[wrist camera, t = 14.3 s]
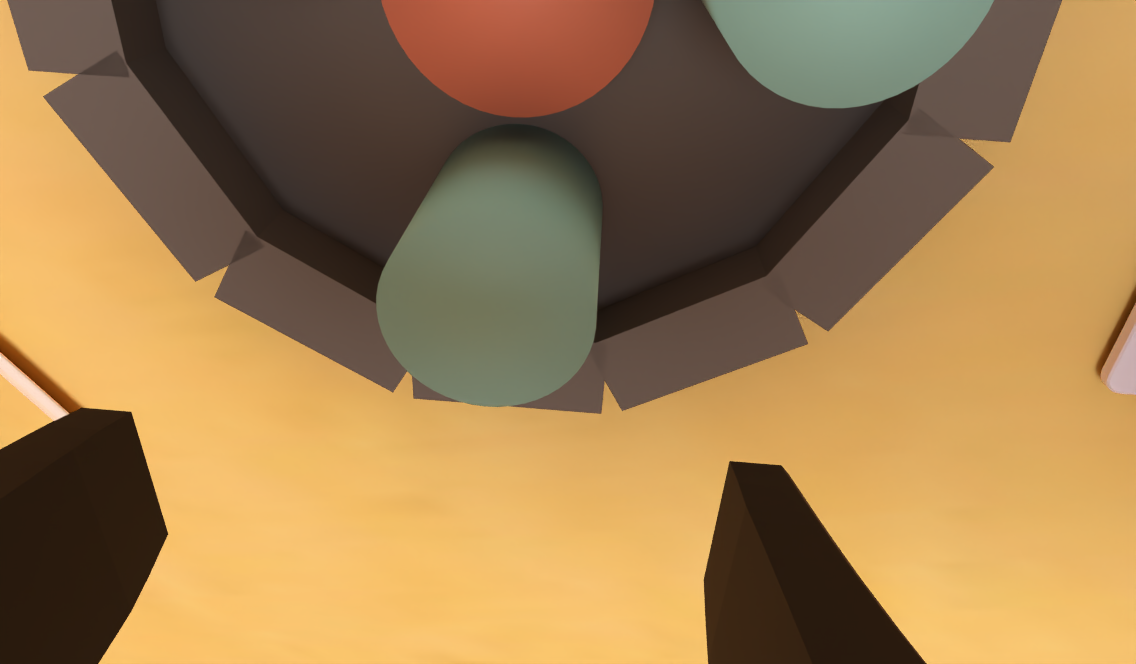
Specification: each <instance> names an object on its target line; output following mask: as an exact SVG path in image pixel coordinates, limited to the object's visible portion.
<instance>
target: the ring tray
mask: <svg viewBox="0 0 1136 664" xmlns="http://www.w3.org/2000/svg"><path fill="white" fill-rule="evenodd" d="M7 1H8V4H9V7H10V10H11V14H12V17H13V20H14V24H15V27H16V30H17V34H18V37H19V40H20V44H21V47H22V50H23V54H24V57H25V60H26V63H27V67H28V70H30V71H43V72H57V73H71V74H78V75H76V76H75V77H73V78H72V79H70V80H68V81H67V82H65V83H64V84H62V85H61V86H59V87H57V88H56V89H54V90H53V91H51V92H49V93H48V94H46V95H45V96H43V97H44V98H45V100H46V101H47V102H48V103H49V105H50V106H51V107H52V108H53V109H54V111H55V112H56V113H57V114H58V115H59V117H60V118H61V119H62V120H63V122H64V123H65V124H66V125H67V126H68V128H69V129H70V130H71V131H72V132H73V134H74V135H75V136H76V137H77V138H78V140H79V141H80V142H81V143H82V145H83V146H84V147H85V148H86V149H87V151H88V152H89V153H90V154H91V155H92V157H93V158H94V159H95V160H96V162H97V163H98V164H99V165H100V166H101V168H102V169H103V170H104V171H105V172H106V174H107V175H108V176H109V177H110V179H111V180H112V181H113V182H114V183H115V185H116V186H117V187H118V188H119V189H120V191H121V192H122V193H123V194H124V196H125V197H126V198H127V199H128V200H129V202H130V203H131V204H132V205H133V206H134V208H135V209H136V210H137V211H138V213H139V214H140V215H141V216H142V217H143V219H144V220H145V221H146V222H147V223H148V225H149V226H150V227H151V228H152V230H153V231H154V232H155V233H156V234H157V236H158V237H159V238H160V239H161V240H162V242H163V243H164V244H165V245H166V247H167V248H168V249H169V250H170V251H171V253H172V254H173V255H174V256H175V257H176V259H177V260H178V261H179V262H180V263H181V265H182V266H183V267H184V268H185V270H186V271H187V272H188V273H189V274H190V276H191V277H192V278H193V279H194V280H195V282H196V281H198V280H200V279H202V278H204V277H206V276H208V275H210V274H212V273H214V272H216V271H218V270H220V269H222V268H224V267H226V266H228V265H229V266H228V269H227V271H226V273H225V275H224V277H223V279H222V281H221V284H220V286H219V288H218V290H217V292H216V294H215V298H217V299H219V300H221V301H223V302H225V303H227V304H228V305H230V306H232V307H234V308H236V309H238V310H240V311H242V312H243V313H245V314H247V315H249V316H251V317H253V318H255V319H257V320H258V321H260V322H262V323H264V324H266V325H268V326H270V327H271V328H273V329H275V330H277V331H279V332H281V333H283V334H285V335H286V336H288V337H290V338H292V339H294V340H296V341H298V342H300V343H301V344H303V345H305V346H307V347H309V348H311V349H313V350H315V351H316V352H318V353H320V354H322V355H324V356H326V357H328V358H330V359H331V360H333V361H335V362H337V363H339V364H341V365H343V366H345V367H346V368H348V369H350V370H352V371H354V372H356V373H358V374H360V375H361V376H363V377H365V378H367V379H369V380H371V381H373V382H375V383H376V384H378V385H380V386H382V387H384V388H386V389H388V390H390V391H391V392H394V390H395V389H396V387H397V386H398V384H399V383H400V381H401V380H402V378H403V377H404V375H405V374H406V372H407V370H406V369H405V368H404V367H403V366H402V365H401V364H400V363H399V361H398V360H397V359H396V358H395V356H394V355H393V353H392V352H391V350H390V349H389V347H388V345H387V343H386V341H385V339H384V337H383V335H382V332H381V329H380V325H379V322H378V316H377V310H376V295H377V288H378V283H379V280H380V277H381V274H382V271H383V269H384V267H385V265H386V263H387V261H388V259H389V258H390V256H391V254H392V252H393V251H394V249H395V247H396V246H397V244H398V242H399V241H400V239H401V237H402V235H403V234H404V232H405V230H406V229H407V227H408V225H409V224H410V222H411V220H412V218H413V217H414V215H415V213H416V212H417V210H418V208H419V207H420V205H421V203H422V201H423V200H424V198H425V196H426V195H427V193H428V191H429V189H430V188H431V186H432V184H433V183H434V181H435V179H436V178H437V176H438V174H439V172H440V171H441V169H442V167H443V166H444V164H445V162H446V161H447V159H448V158H449V156H450V155H451V153H452V152H453V151H454V150H455V149H456V148H457V147H458V146H459V145H460V144H461V143H462V142H463V141H465V140H466V139H467V138H468V137H470V136H472V135H474V134H475V133H477V132H479V131H482V130H484V129H487V128H490V127H494V126H498V125H505V124H525V125H532V126H536V127H540V128H543V129H546V130H548V131H551V132H553V133H555V134H557V135H559V136H560V137H562V138H564V139H566V140H567V141H568V142H569V143H571V144H572V145H573V146H575V147H576V148H577V149H578V150H579V151H580V152H581V153H582V154H583V156H584V157H585V158H586V160H587V161H588V162H589V164H590V165H591V167H592V169H593V171H594V172H595V175H596V177H597V180H598V182H599V186H600V189H601V193H602V202H603V210H602V230H601V248H600V265H599V283H598V301H597V319H596V331H595V336H594V341H593V344H592V347H591V350H590V352H589V354H588V356H587V358H586V360H585V362H584V363H583V365H582V366H581V368H580V369H579V370H578V372H577V373H576V374H575V375H574V376H573V377H572V378H571V379H570V380H569V381H568V382H567V383H565V384H564V385H563V386H562V387H560V388H559V389H557V390H556V391H554V392H552V393H550V394H549V395H547V396H544V397H542V398H540V399H538V400H535V401H531V402H528V403H525V404H519V405H514V406H513V407H525V408H537V409H550V410H562V411H574V412H586V413H599V414H601V411H602V401H603V391H604V381H605V382H606V383H607V385H608V387H609V389H610V390H611V392H612V394H613V396H614V397H615V399H616V401H617V403H618V404H619V406H620V408H621V410H622V411H623V410H626V409H629V408H632V407H635V406H637V405H640V404H643V403H646V402H648V401H651V400H654V399H657V398H660V397H662V396H665V395H668V394H671V393H673V392H676V391H679V390H682V389H684V388H687V387H690V386H693V385H696V384H698V383H701V382H704V381H707V380H709V379H712V378H715V377H718V376H721V375H723V374H726V373H729V372H732V371H734V370H737V369H740V368H743V367H745V366H748V365H751V364H754V363H757V362H759V361H762V360H765V359H768V358H770V357H773V356H776V355H779V354H782V353H784V352H787V351H790V350H793V349H795V348H798V347H801V346H804V345H806V344H808V342H807V340H806V337H805V335H804V332H803V330H802V327H801V325H800V322H799V319H798V317H797V314H796V312H795V310H796V311H798V312H799V313H801V314H802V315H804V316H805V317H807V318H808V319H810V320H811V321H813V322H815V323H816V324H818V325H819V326H821V327H822V328H824V329H825V330H827V331H829V330H830V329H831V328H832V327H833V326H834V325H835V324H836V323H837V322H838V321H839V320H840V319H841V318H842V317H843V316H844V315H845V314H846V313H847V312H848V311H849V310H850V309H851V308H852V307H853V306H854V305H855V304H856V303H857V302H858V301H859V300H860V299H861V298H862V297H863V296H864V295H865V294H866V293H867V292H868V291H869V290H870V289H871V288H872V287H873V286H874V285H875V284H876V283H877V282H878V281H879V280H880V279H882V278H883V277H884V276H885V275H886V274H887V273H888V272H889V271H890V270H891V269H892V268H893V267H894V266H895V265H896V264H897V263H898V262H899V261H900V260H901V259H902V258H903V257H904V256H905V255H906V254H907V253H908V252H909V251H910V250H911V249H912V248H913V247H914V246H915V245H916V244H917V243H918V242H919V241H920V240H921V239H922V238H923V237H924V236H925V235H926V234H927V233H928V232H929V231H930V230H931V229H932V228H933V227H934V226H935V225H936V224H937V223H938V222H939V221H940V220H941V219H942V218H943V217H944V216H945V215H946V214H947V213H948V212H949V211H950V210H951V209H952V208H953V207H954V206H955V205H956V204H957V203H958V202H959V201H960V200H961V199H962V198H963V197H964V196H965V195H966V194H967V193H968V192H969V191H970V190H971V189H972V188H973V187H974V186H975V185H976V184H977V183H978V182H979V181H980V180H981V179H982V178H983V177H984V176H985V175H986V174H987V173H988V172H989V171H990V170H991V169H992V168H993V167H994V166H992V165H991V164H990V163H989V162H987V161H986V160H985V159H984V158H982V157H981V156H980V155H979V154H978V153H976V152H975V151H974V150H973V149H971V148H970V147H969V146H968V145H966V144H965V143H964V142H963V141H961V140H960V139H973V140H986V141H1000V142H1011V139H1012V136H1013V133H1014V131H1015V128H1016V125H1017V122H1018V120H1019V117H1020V114H1021V111H1022V109H1023V106H1024V103H1025V100H1026V98H1027V95H1028V92H1029V90H1030V87H1031V84H1032V81H1033V79H1034V76H1035V73H1036V70H1037V68H1038V65H1039V62H1040V59H1041V57H1042V54H1043V51H1044V48H1045V46H1046V43H1047V40H1048V37H1049V35H1050V32H1051V29H1052V26H1053V24H1054V21H1055V18H1056V16H1057V13H1058V10H1059V7H1060V5H1061V2H1062V0H994V2H993V3H992V5H991V7H990V9H989V11H988V13H987V15H986V16H985V18H984V19H983V21H982V22H981V24H980V25H979V27H978V28H977V30H976V31H975V32H974V34H973V35H972V36H971V37H970V39H969V40H968V41H967V42H966V43H965V45H964V46H963V47H962V48H961V49H960V50H959V51H958V52H957V53H956V54H955V55H954V56H953V57H952V58H951V59H950V60H949V61H948V62H947V63H946V64H945V65H943V66H942V67H941V68H940V69H938V70H937V71H936V72H935V73H934V74H932V75H931V76H929V77H928V78H926V79H925V80H923V81H922V82H920V83H919V84H917V85H916V86H914V87H912V88H910V89H908V90H906V91H904V92H902V93H900V94H898V95H896V96H893V97H890V98H888V99H885V100H882V101H880V102H876V103H872V104H868V105H864V106H858V107H850V108H821V107H814V106H808V105H804V104H801V103H797V102H794V101H791V100H789V99H787V98H784V97H782V96H780V95H778V94H776V93H774V92H773V91H771V90H769V89H768V88H766V87H765V86H763V85H762V84H761V83H760V82H758V81H757V80H756V79H755V78H754V77H753V76H751V75H750V74H749V72H748V71H747V70H746V69H745V68H744V67H743V66H742V64H741V63H740V62H739V61H738V59H737V58H736V56H735V55H734V53H733V51H732V50H731V48H730V47H729V45H728V43H727V42H726V40H725V38H724V37H723V35H722V34H721V32H720V30H719V29H718V27H717V25H716V24H715V22H714V20H713V19H712V17H711V15H710V14H709V12H708V10H707V9H706V7H705V5H704V4H703V2H702V0H7ZM412 380H413V397H414V399H427V400H439V401H451V402H460V401H457V400H454V399H451V398H448V397H446V396H444V395H442V394H439V393H437V392H435V391H433V390H432V389H430V388H429V387H427V386H425V385H424V384H422V383H421V382H420V381H418V380H417V379H416V378H414V377H413V376H412Z"/></svg>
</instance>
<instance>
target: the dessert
mask: <svg viewBox="0 0 1136 664" xmlns="http://www.w3.org/2000/svg"><path fill="white" fill-rule="evenodd" d="M0 374H1V375H2V376H3V377H4V378H5V379H6V380H8V381H9V382H10V383H11V384H12V385H13V386H14V387H16V388H17V389H18V390H19V391H20V392H21V393H22V394H24V395H25V396H26V397H27V398H28V399H29V400H30V401H32V402H33V403H34V404H35V405H36V406H37V407H38V408H40V409H41V410H42V411H43V412H44V413H45V414H46V415H48V416H49V417H50V418H51V419H52V420H53V421H55V420H57V419H59V418H61V417H63V416H66V415H68V414H70V413H68V412H67V411H66V410H65V409H64V408H63V407H62V406H61V405H59V404H58V403H57V402H56V401H55V400H54V399H53V398H52V397H50V396H49V395H48V394H47V393H46V392H45V391H44V390H43V389H41V388H40V387H39V386H38V385H37V384H36V383H35V382H33V381H32V380H31V379H30V378H29V377H28V376H27V375H26V374H24V373H23V372H22V371H21V370H20V369H19V368H18V367H17V366H15V365H14V364H13V363H12V362H11V361H10V360H9V359H8V358H6V357H5V356H4V355H3V354H2V353H1V352H0Z"/></svg>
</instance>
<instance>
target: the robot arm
mask: <svg viewBox="0 0 1136 664" xmlns="http://www.w3.org/2000/svg"><path fill="white" fill-rule="evenodd" d="M1100 376H1101V380H1102V382H1103V383H1104V384H1105V385H1106V386H1107V387H1108V388H1109V389H1110V390H1111V391H1112V392H1115V393H1119V394H1130V395H1136V303H1135V305H1134V307H1133V309H1132V311H1131V313H1130V315H1129V317H1128V319H1127V321H1126V323H1125V325H1124V327H1123V329H1122V331H1121V333H1120V335H1119V337H1118V339H1117V341H1116V343H1115V345H1114V347H1113V349H1112V351H1111V353H1110V354H1109V356H1108V358H1107V360H1106V362H1105V364H1104V366H1103V368H1102V371H1101V375H1100ZM167 535H168V532H167V529H166V525H165V522H164V519H163V515H162V512H161V509H160V505H159V502H158V499H157V496H156V492H155V489H154V486H153V482H152V479H151V476H150V472H149V469H148V466H147V462H146V459H145V456H144V453H143V449H142V446H141V443H140V439H139V436H138V433H137V429H136V426H135V423H134V419H133V416H132V413H131V412H126V411H114V410H101V409H89V408H80V409H78V410H76V411H74V412H72V413H70V414H68V415H66V416H63V417H61V418H59V419H57V420H55V421H53V422H51V423H49V424H47V425H45V426H44V427H42V428H40V429H38V430H36V431H34V432H32V433H30V434H28V435H26V436H25V437H23V438H21V439H19V440H17V441H15V442H13V443H12V444H10V445H8V446H6V447H4V448H2V449H1V450H0V664H98V663H99V662H100V660H101V658H102V657H103V655H104V654H105V652H106V651H107V649H108V647H109V646H110V644H111V643H112V641H113V640H114V638H115V637H116V635H117V633H118V632H119V630H120V629H121V627H122V625H123V624H124V622H125V621H126V619H127V617H128V616H129V614H130V612H131V611H132V609H133V607H134V605H135V603H136V601H137V599H138V597H139V595H140V593H141V591H142V589H143V587H144V585H145V583H146V581H147V579H148V577H149V575H150V573H151V570H152V568H153V566H154V564H155V562H156V559H157V557H158V555H159V553H160V551H161V548H162V546H163V544H164V542H165V540H166V537H167ZM704 595H705V616H706V635H707V651H708V664H926V663H925V661H924V660H923V659H922V658H921V656H920V655H919V654H918V653H917V651H916V650H915V649H914V648H913V646H912V645H911V644H910V642H909V641H908V640H907V639H906V637H905V636H904V635H903V634H902V632H901V631H900V630H899V629H898V627H897V626H896V625H895V623H894V622H893V621H892V619H891V618H890V617H889V615H888V614H887V613H886V611H885V610H884V609H883V607H882V606H881V605H880V603H879V602H878V601H877V599H876V598H875V597H874V595H873V594H872V593H871V592H870V590H869V589H868V588H867V586H866V585H865V584H864V582H863V581H862V580H861V578H860V577H859V575H858V574H857V573H856V571H855V570H854V569H853V567H852V566H851V564H850V563H849V562H848V560H847V559H846V557H845V556H844V555H843V553H842V552H841V550H840V549H839V547H838V546H837V545H836V543H835V542H834V540H833V539H832V537H831V536H830V535H829V533H828V532H827V530H826V529H825V527H824V526H823V525H822V523H821V522H820V520H819V519H818V517H817V516H816V514H815V513H814V511H813V510H812V508H811V507H810V505H809V504H808V502H807V501H806V499H805V498H804V496H803V495H802V493H801V492H800V490H799V489H798V488H797V486H796V485H795V483H794V482H793V480H792V479H791V477H790V476H789V474H788V473H787V472H786V470H785V469H784V468H783V467H782V466H781V465H769V464H757V463H745V462H733V461H730V462H729V467H728V471H727V476H726V480H725V485H724V490H723V494H722V499H721V503H720V508H719V512H718V517H717V522H716V526H715V531H714V535H713V540H712V544H711V549H710V554H709V558H708V563H707V567H706V572H705V577H704Z"/></svg>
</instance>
